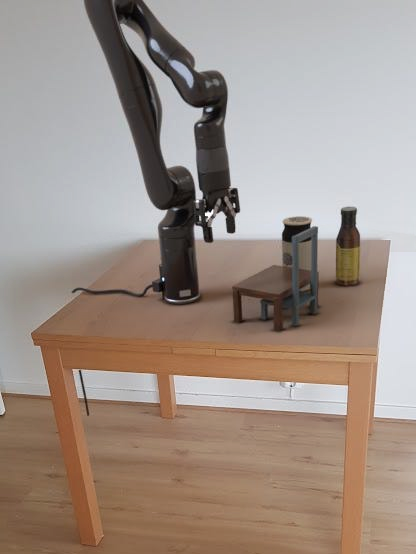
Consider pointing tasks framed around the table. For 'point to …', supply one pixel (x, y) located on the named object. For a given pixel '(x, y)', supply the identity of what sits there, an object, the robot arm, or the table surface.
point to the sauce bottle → (348, 249)
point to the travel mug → (291, 229)
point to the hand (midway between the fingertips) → (220, 237)
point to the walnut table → (270, 289)
